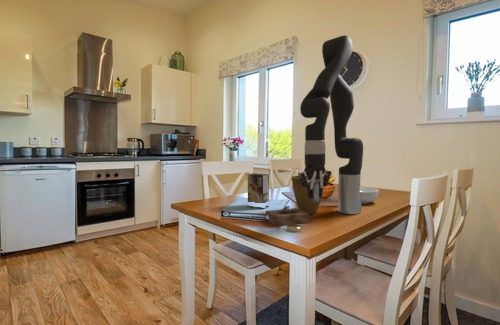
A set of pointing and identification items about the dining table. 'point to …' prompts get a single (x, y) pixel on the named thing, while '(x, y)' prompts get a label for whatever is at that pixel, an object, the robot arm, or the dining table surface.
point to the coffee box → (258, 188)
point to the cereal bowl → (368, 194)
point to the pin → (315, 192)
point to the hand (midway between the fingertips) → (314, 197)
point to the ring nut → (294, 228)
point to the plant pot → (303, 197)
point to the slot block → (287, 216)
